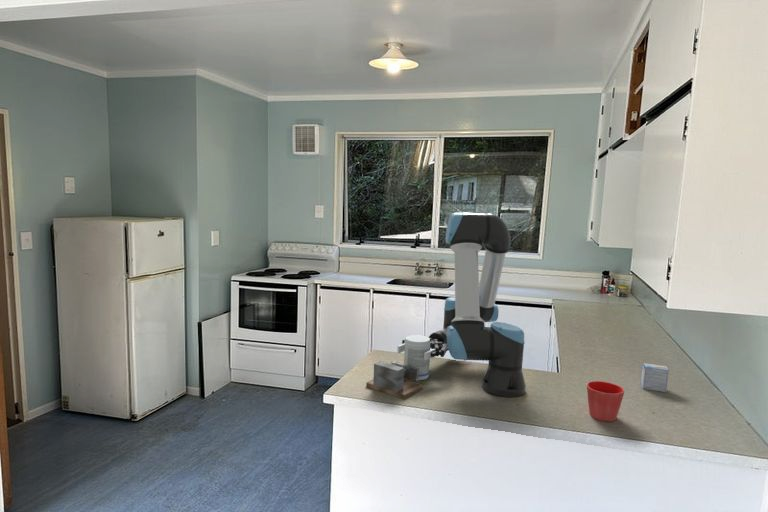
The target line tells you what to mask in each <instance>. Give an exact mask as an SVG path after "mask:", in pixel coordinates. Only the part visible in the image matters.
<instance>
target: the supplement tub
mask: <svg viewBox="0 0 768 512" xmlns="http://www.w3.org/2000/svg"><path fill="white" fill-rule="evenodd" d="M428 337H429V336H425V335H421V334H420V335H419V334H411V335H407V336H405V338H404V340H405V349H404V351H403V353H404V354H403V356H404V357H403V364H406V365H409V366H413V367H416V368H419V381H424V380H426V379H428V378H429V376H430V362H431V361H430V359H431V358H430V359H428V360H426V361H425V360H424V353H425V352H427V351H429V350H431V348H430V338H428Z"/></svg>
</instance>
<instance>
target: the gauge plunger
mask: <svg viewBox="0 0 768 512" xmlns="http://www.w3.org/2000/svg"><path fill="white" fill-rule="evenodd" d="M390 364H392V365H396V366H399V367H403V368H404V379H405V380H409V381H412V382H415V383H418V381H420V380H419V368H416V367H413V366H409V365H406V364H404V363H402V362H398V361H394V360H393V361H391V362H390Z"/></svg>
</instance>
